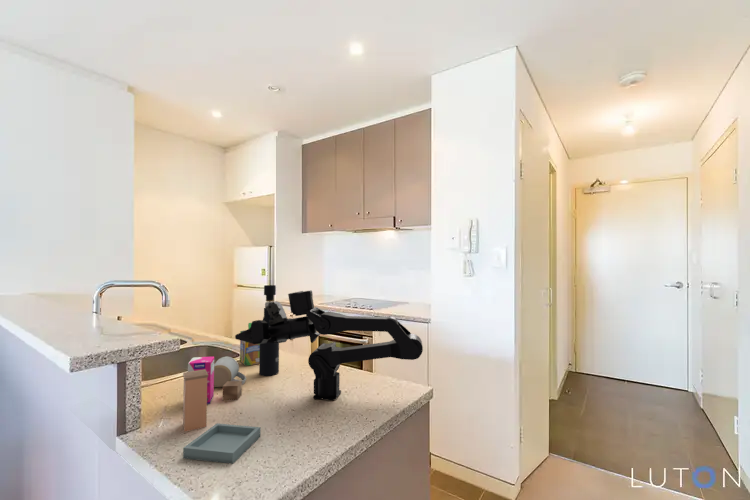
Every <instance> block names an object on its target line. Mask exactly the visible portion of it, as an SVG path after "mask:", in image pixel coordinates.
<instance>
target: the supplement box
mask: <svg viewBox="0 0 750 500" xmlns="http://www.w3.org/2000/svg"><path fill="white" fill-rule="evenodd" d="M214 364H215V356H214V355H213V356H200V357H199V356H196V357H192V358H191V359H190V361H189V362H188V363H187V372H190V371H197V370H204V369H205V370H206V371H207V373H208V377H207V405H210V404H211V401H212V400H213V398H214V391H215V389H214V388H215V387H214Z"/></svg>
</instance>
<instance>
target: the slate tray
mask: <svg viewBox="0 0 750 500" xmlns="http://www.w3.org/2000/svg"><path fill="white" fill-rule="evenodd" d="M261 432H262V431H261V427H260V426H252V425H251V426H249V425H238V424H227V423H218V422H217V423H215V424H214V425H212V426H211V427H210V428H208V429H207V430H206V431H204V432H203V433H201V434H200V435H199V436H197V437H196V438H195V439H193V440H192V441H191V442H189V443H188V444H186V445H185V446H184V447H183V448H182V449H183V450H182V451H183V452H182V454H183V455H182V459H187V460H188V459H189V460H197V461H203V462H205V461H206V462H215V463H221V464H222V463H223V464H231V465H232V464H234V463H235V462H236V461H237V460H238V459H239V458H241V456H242V455H243V454H245V452H246V451H248V449H250V448H251V447H252V445H254V444H255V442H256V441H258V440H259V439H260V438H261Z"/></svg>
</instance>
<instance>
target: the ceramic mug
mask: <svg viewBox="0 0 750 500" xmlns="http://www.w3.org/2000/svg"><path fill="white" fill-rule="evenodd" d="M239 366H240V365H239V363H238V361H237V360H236V359H235V358H233V357H231V356H222V357H220V358H218V359H217V360H216V361H215V362H214V388H219V389H220V388H223V385H224V384H225V383H226V382H227V381H242V386H243V385H244V384H245V382H246V380H247V376H245V374H243V373H242V372H241V371H240V367H239ZM237 377H238V378H239V379H236V378H237ZM240 379H241V380H240Z"/></svg>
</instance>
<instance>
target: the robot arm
mask: <svg viewBox="0 0 750 500" xmlns="http://www.w3.org/2000/svg"><path fill="white" fill-rule="evenodd" d="M287 295H288V302H289V307H290V313H291V314H292V315H294V316H295V318H293V317H292V318H288V316H287V313H286V311H285V309H284V306H283V305H282V303H281V302H280V301H275V300H274V301H272V302H273V303H269V304H268V306H266V310H267V311H268V313H269V315H270V317H271V319H272V320H269V323H270V326H269V328H268V323H267V322H265V321H264V320H263V319H258V320H252V321H251V323H252V324H251V327H250V328H249V329H245V330H246V331H244V330H242V331H243V332H241V333H240V332H239V333H237V334H235V335H234V338H235V340H238V341H240V340H241V341H245V342H249V343H252V344H264V343H266V342H270V343H279V344H282V343H283V344H284V343H287V341H288V340H295V339H299V338H304V337H305V338H306V337H309V339H310V340H309V341H310V343H311V344H313V343H314V342H315V341H317V339H318V337H320V336H321V335H323V336H327V335H333V334H337V333H338V334H339V333H343V332H351V331H352V332H383V333H384V332H385V333H388V334H389V335H390V336H391V338H392V340H390V341H385V342H378V343H377V342H375V343H371V344H369V343H368V344H362V345H361V344H360V345H354V346H347V347H340V346H336V345H337V343H336V341H334V342H330V343H324V342H323V343H322V344H321V345H320V346H318V347H317V348H315V350H313V351H312V352H311V353H310V354H309V357H308V360H307V361H308V365H309V367H310V369H311V370H313V374H314V376H315V378H314V379H313V397H312V398H313V399H315V400H327V401H328V400H329V401H336V400H337V399H338V397H339V395H341V393H342V390H340V375H341V374H340V372H338V370H339V369H340V367H341V365H342V364H347V363H356V362H364V361H370V360H377V359H379V360H380V359H387V358H393V359H398V360H407V361H412V360H413V361H414V360H418V359H419V358H420V357H421V355H422V353H423V351H424V349H423V348H424V347H423V341H422V339H421V338H420V336H418V335H417V334H416V333H411V332H410V331H409V330H408V329H407V327H405V326H404V325H403V324H402V323H400V321H398V319H397V318H396V317H395V316H392V315H391V316H362V315H360V316H355V315H354V316H351V315H345V314H342V313H340V312H335V311H325V310H322V309H321V308H319V307H317V306H316V307H315V305H314V300H313V291H312V290H305V291H303V290H299V291H295V292H291V293H288V294H287ZM303 315H304V316H303ZM300 316H301V317H300Z"/></svg>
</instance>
